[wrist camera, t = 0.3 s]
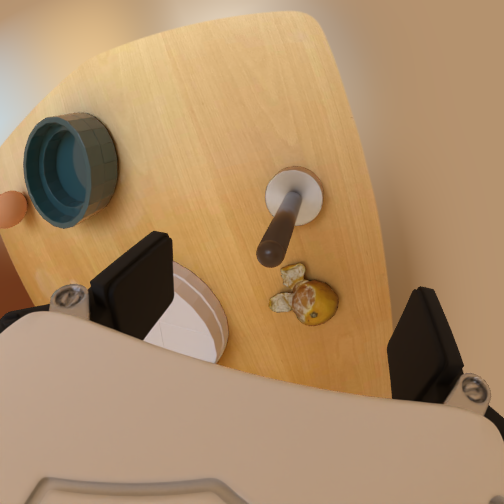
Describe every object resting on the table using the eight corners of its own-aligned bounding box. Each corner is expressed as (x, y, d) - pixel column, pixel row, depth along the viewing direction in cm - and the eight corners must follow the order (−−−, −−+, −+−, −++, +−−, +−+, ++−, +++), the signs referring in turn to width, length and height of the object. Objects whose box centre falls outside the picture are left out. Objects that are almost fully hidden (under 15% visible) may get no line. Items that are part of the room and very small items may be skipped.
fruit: (286, 256, 36) (282, 270, 33) (349, 279, 35) (351, 296, 32) (266, 307, 40) (260, 324, 37) (323, 327, 39) (322, 345, 36)
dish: (228, 378, 49) (219, 399, 44) (122, 345, 53) (108, 362, 48) (229, 268, 39) (216, 289, 34) (98, 243, 43) (77, 257, 38)
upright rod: (272, 161, 31) (224, 203, 17) (328, 172, 30) (327, 224, 16) (266, 213, 34) (218, 289, 20) (317, 223, 33) (306, 309, 19)
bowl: (50, 115, 35) (21, 121, 30) (121, 110, 32) (90, 113, 27) (54, 206, 42) (29, 219, 37) (122, 220, 40) (95, 237, 34)
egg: (16, 180, 42) (-19, 196, 34) (34, 191, 42) (-4, 209, 34) (16, 210, 46) (-16, 227, 38) (34, 222, 45) (-1, 242, 37)
